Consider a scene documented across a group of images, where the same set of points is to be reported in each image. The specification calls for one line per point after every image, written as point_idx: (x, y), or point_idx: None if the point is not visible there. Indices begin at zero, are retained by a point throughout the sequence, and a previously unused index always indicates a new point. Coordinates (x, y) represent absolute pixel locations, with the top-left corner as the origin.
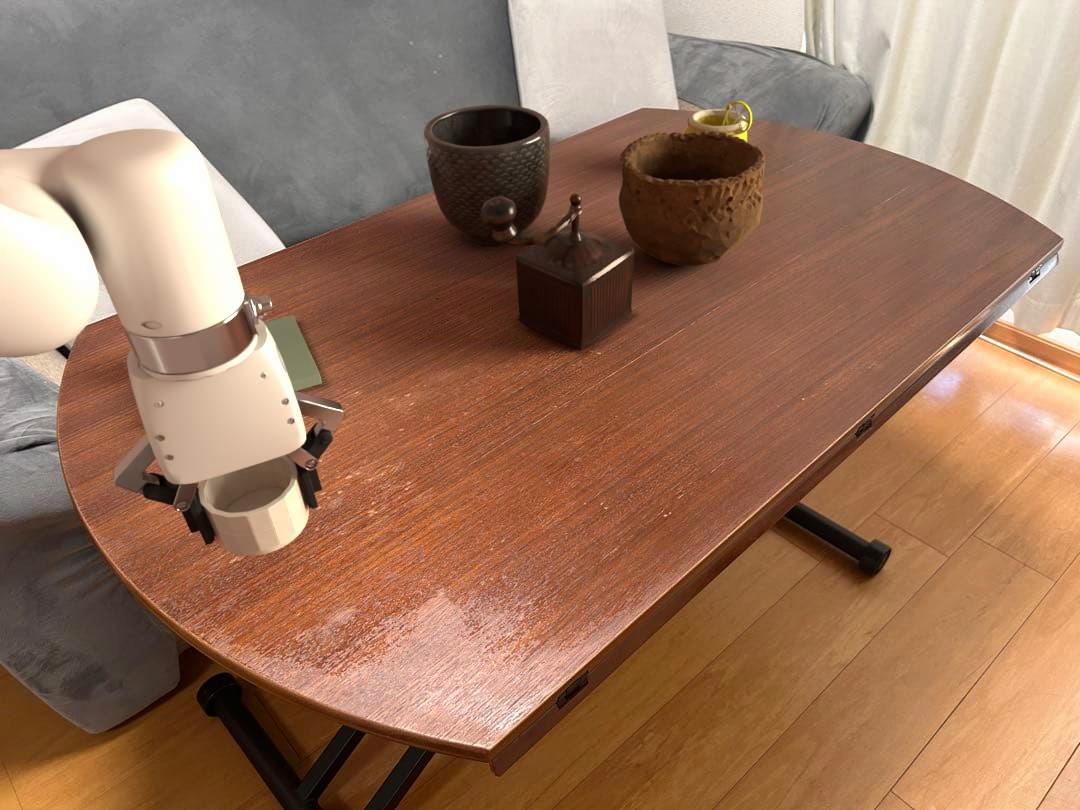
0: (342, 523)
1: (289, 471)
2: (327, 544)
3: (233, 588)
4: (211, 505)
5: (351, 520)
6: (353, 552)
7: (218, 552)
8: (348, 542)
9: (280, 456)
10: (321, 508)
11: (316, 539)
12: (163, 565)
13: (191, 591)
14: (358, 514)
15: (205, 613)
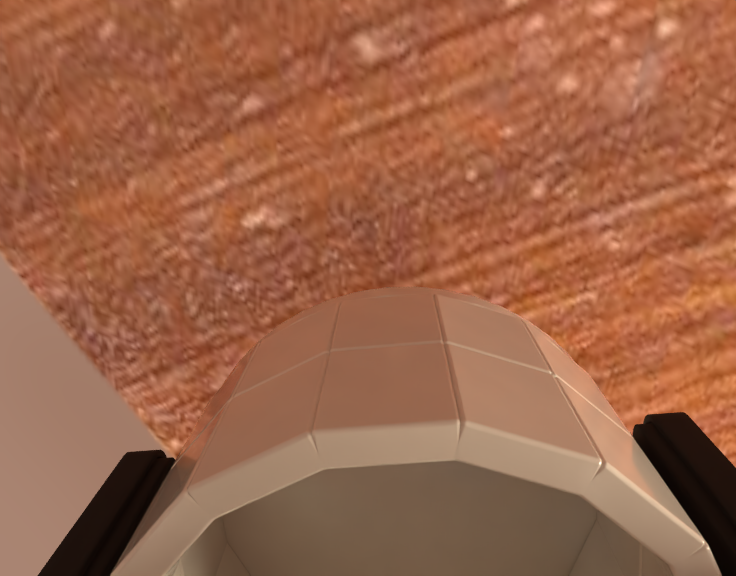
0: (626, 199)
1: (659, 560)
2: (554, 272)
3: (253, 329)
4: (177, 564)
5: (660, 197)
6: (623, 336)
7: (205, 164)
8: (620, 290)
9: (675, 568)
10: (576, 92)
11: (525, 236)
12: (31, 150)
13: (132, 292)
14: (692, 178)
15: (178, 383)
